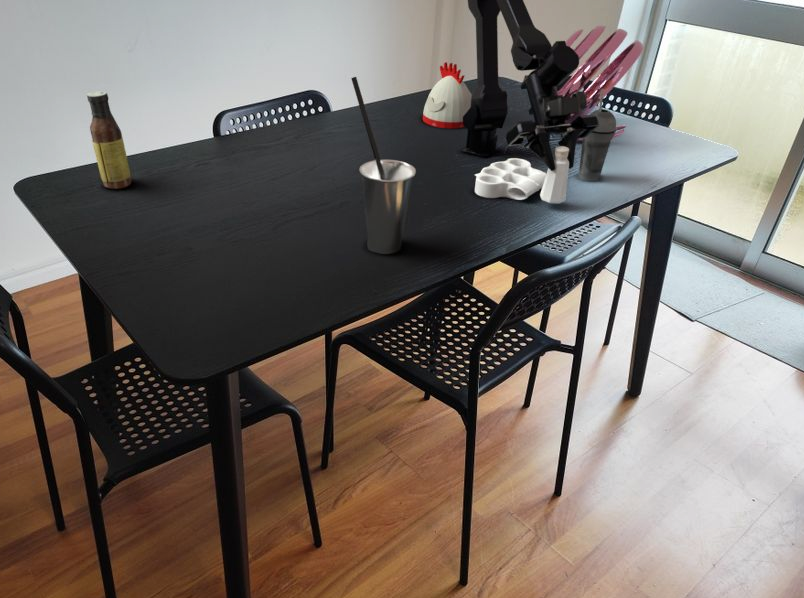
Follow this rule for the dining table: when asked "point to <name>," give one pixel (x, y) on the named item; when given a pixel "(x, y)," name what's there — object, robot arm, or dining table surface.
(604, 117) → the beverage cup
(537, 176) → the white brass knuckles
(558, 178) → the salt shaker
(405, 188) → the steel tumbler with stirrer
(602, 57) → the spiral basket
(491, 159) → the dining table surface
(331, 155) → the dining table surface
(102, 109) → the sauce bottle
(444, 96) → the kitchen timer
